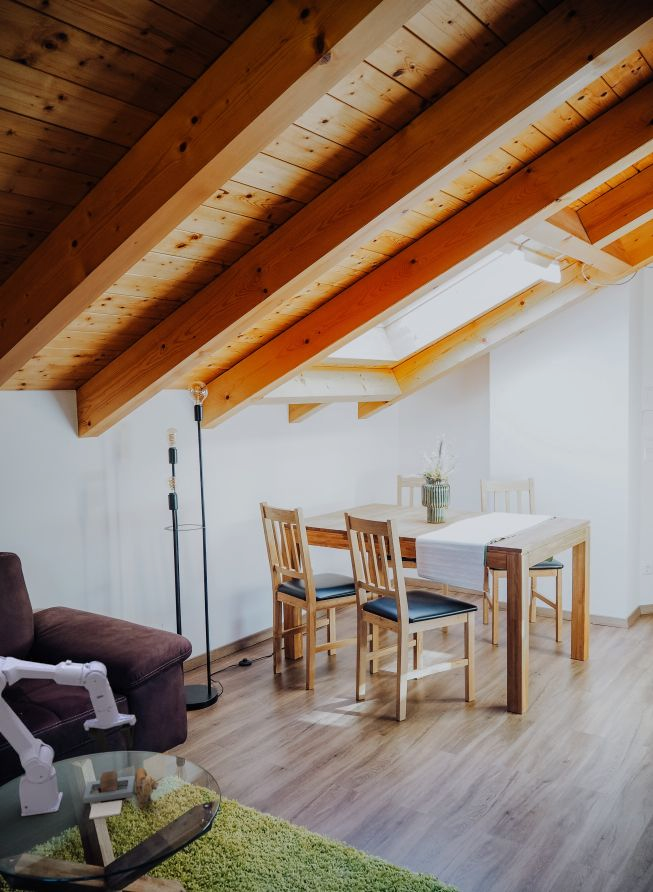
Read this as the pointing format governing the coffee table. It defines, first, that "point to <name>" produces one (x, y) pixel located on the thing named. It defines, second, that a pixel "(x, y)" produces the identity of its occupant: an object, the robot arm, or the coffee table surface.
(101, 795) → the puzzle board
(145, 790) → the lion figurine
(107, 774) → the walnut block
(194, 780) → the coffee table surface
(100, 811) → the rubber mat
